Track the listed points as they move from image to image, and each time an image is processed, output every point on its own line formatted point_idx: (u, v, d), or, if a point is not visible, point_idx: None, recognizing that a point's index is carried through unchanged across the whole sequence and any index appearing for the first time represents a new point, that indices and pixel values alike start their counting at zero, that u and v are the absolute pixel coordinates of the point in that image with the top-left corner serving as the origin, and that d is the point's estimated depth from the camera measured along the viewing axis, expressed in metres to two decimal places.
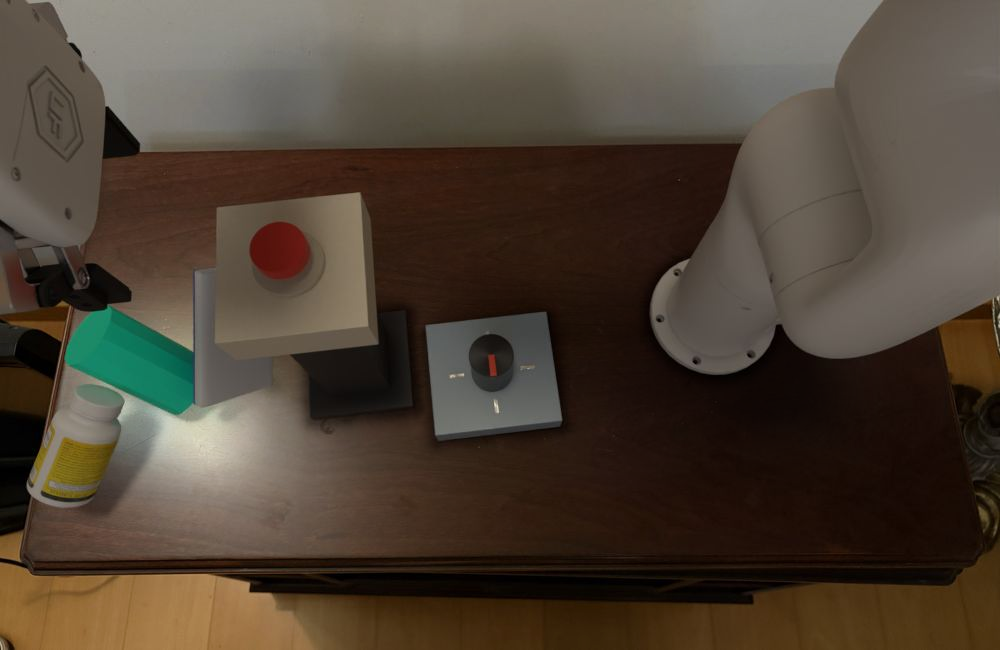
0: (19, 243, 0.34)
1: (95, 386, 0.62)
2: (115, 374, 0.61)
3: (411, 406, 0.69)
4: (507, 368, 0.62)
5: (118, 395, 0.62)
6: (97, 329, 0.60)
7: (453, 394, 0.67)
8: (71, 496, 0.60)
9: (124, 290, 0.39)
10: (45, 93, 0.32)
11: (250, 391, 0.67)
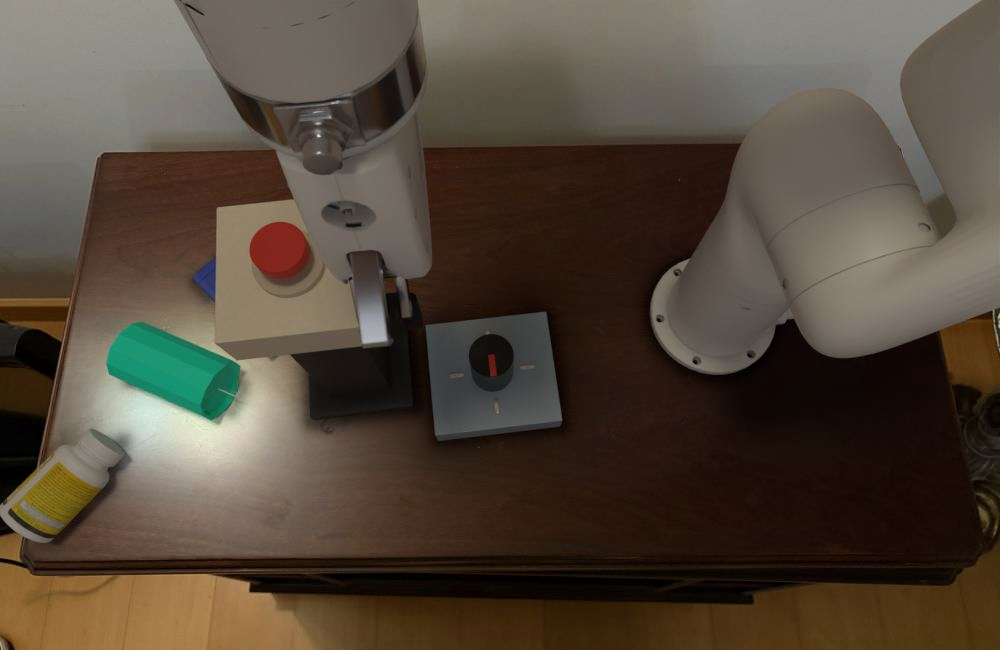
0: None
1: (106, 437, 0.68)
2: (134, 381, 0.66)
3: (411, 406, 0.69)
4: (507, 368, 0.62)
5: (121, 450, 0.67)
6: None
7: (453, 394, 0.67)
8: (32, 523, 0.62)
9: (422, 317, 0.40)
10: None
11: None
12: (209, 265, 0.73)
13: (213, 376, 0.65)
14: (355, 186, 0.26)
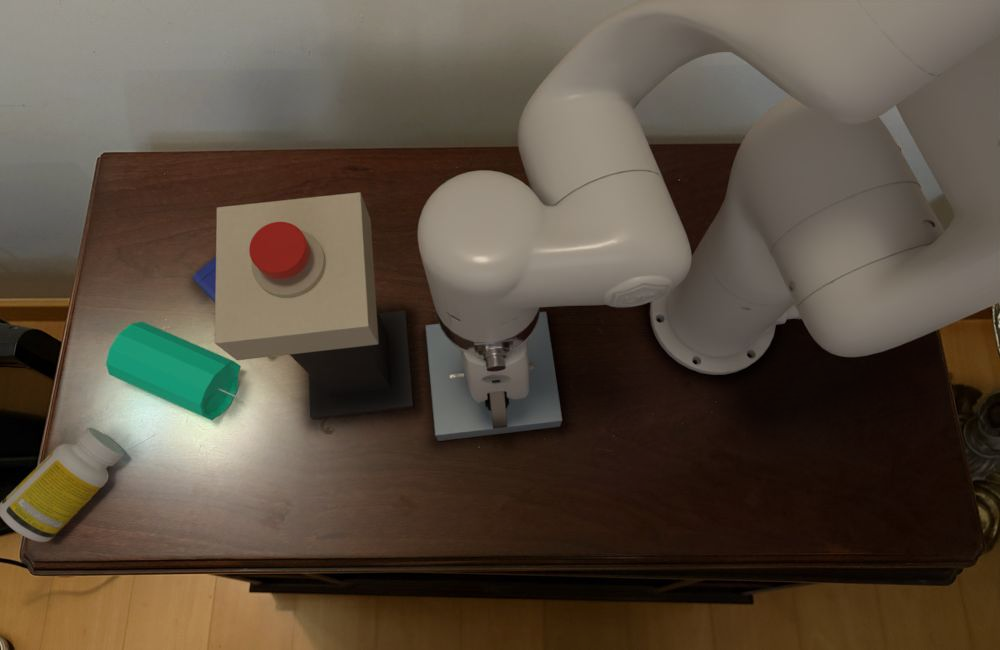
0: None
1: (106, 437, 0.68)
2: (134, 381, 0.66)
3: (411, 406, 0.69)
4: None
5: (120, 450, 0.67)
6: None
7: (453, 394, 0.67)
8: (30, 522, 0.62)
9: None
10: None
11: None
12: (209, 265, 0.73)
13: (213, 376, 0.65)
14: (504, 369, 0.50)
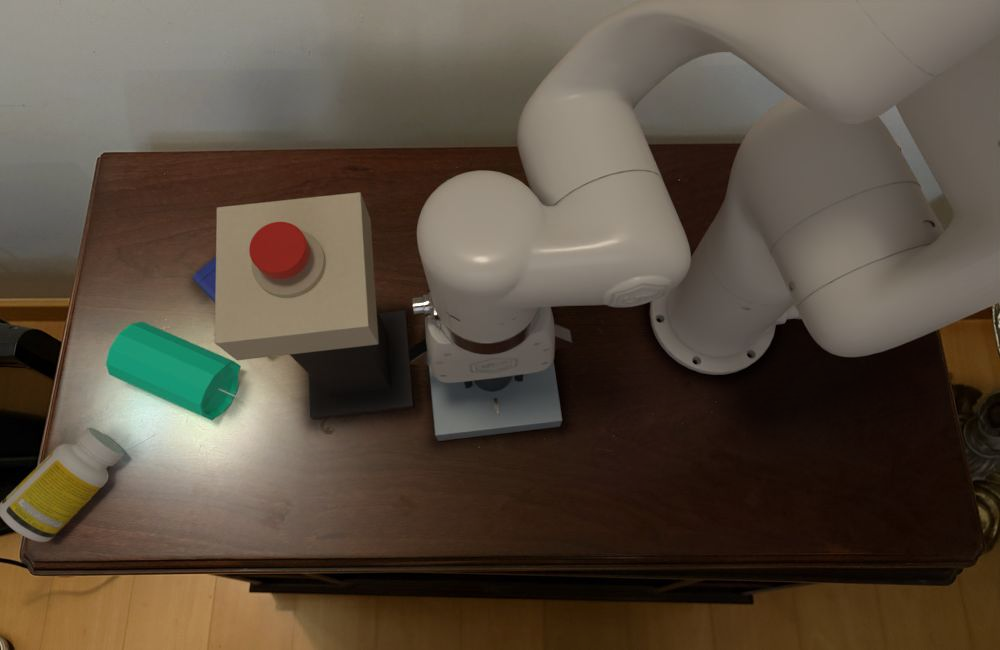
0: None
1: (106, 437, 0.68)
2: (134, 381, 0.66)
3: (411, 406, 0.69)
4: None
5: (120, 450, 0.67)
6: None
7: (453, 394, 0.67)
8: (30, 522, 0.62)
9: (467, 386, 0.66)
10: (501, 360, 0.55)
11: None
12: (209, 265, 0.73)
13: (213, 376, 0.65)
14: (426, 326, 0.51)
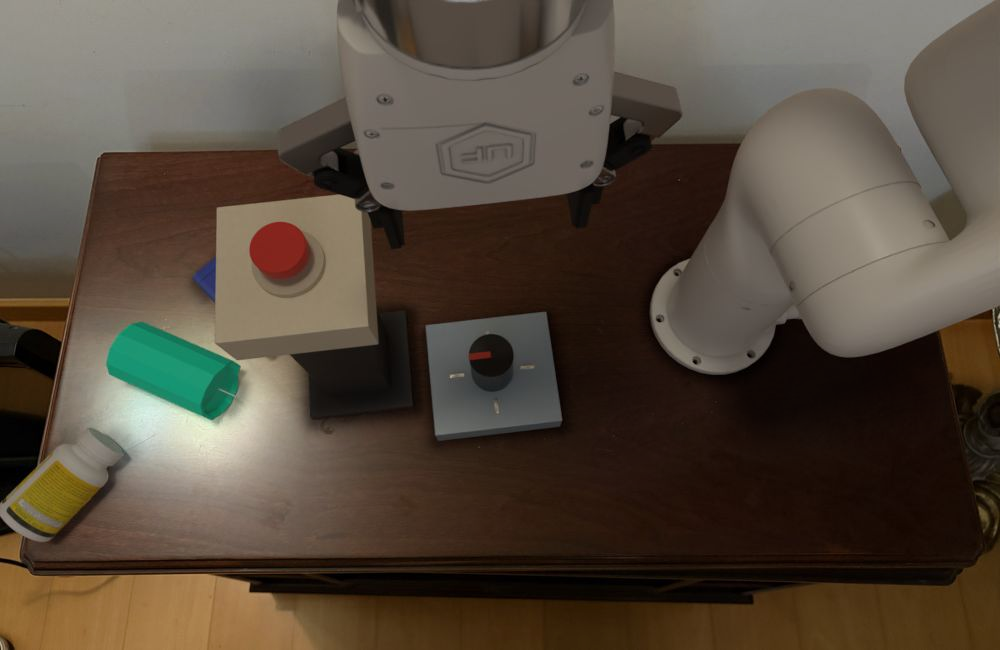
0: None
1: (106, 437, 0.68)
2: (134, 381, 0.66)
3: (411, 406, 0.69)
4: (477, 370, 0.62)
5: (120, 450, 0.67)
6: None
7: (453, 394, 0.67)
8: (30, 522, 0.62)
9: (393, 242, 0.36)
10: (501, 139, 0.27)
11: None
12: (209, 265, 0.73)
13: (213, 376, 0.65)
14: None
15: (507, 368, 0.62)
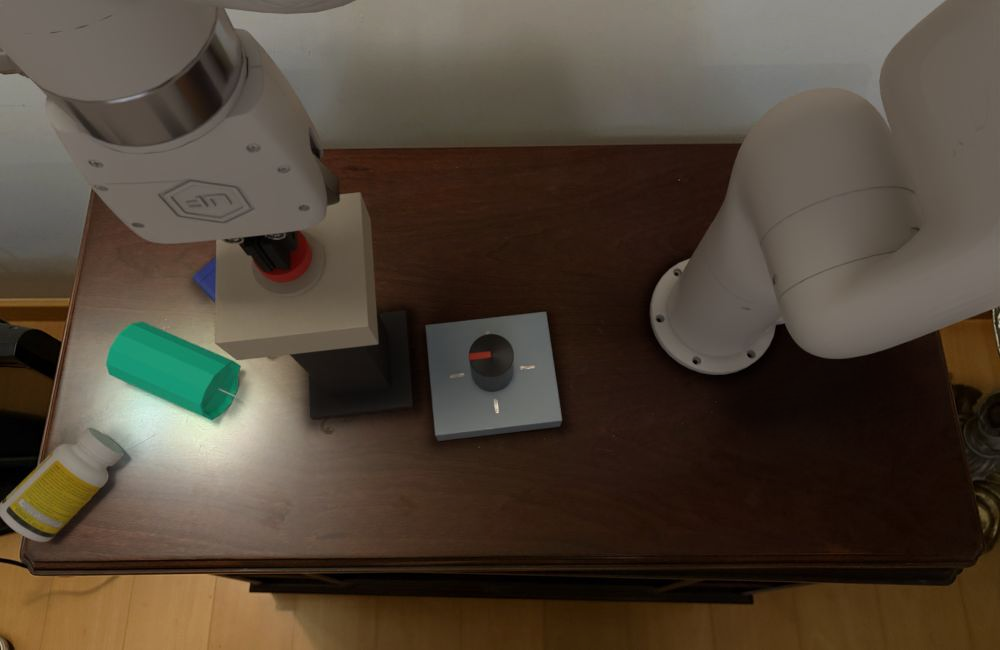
0: None
1: (106, 437, 0.68)
2: (134, 381, 0.66)
3: (411, 406, 0.69)
4: (477, 370, 0.62)
5: (120, 450, 0.67)
6: None
7: (453, 394, 0.67)
8: (30, 522, 0.62)
9: (263, 267, 0.44)
10: (214, 191, 0.33)
11: None
12: (209, 265, 0.73)
13: (213, 376, 0.65)
14: None
15: (507, 368, 0.62)
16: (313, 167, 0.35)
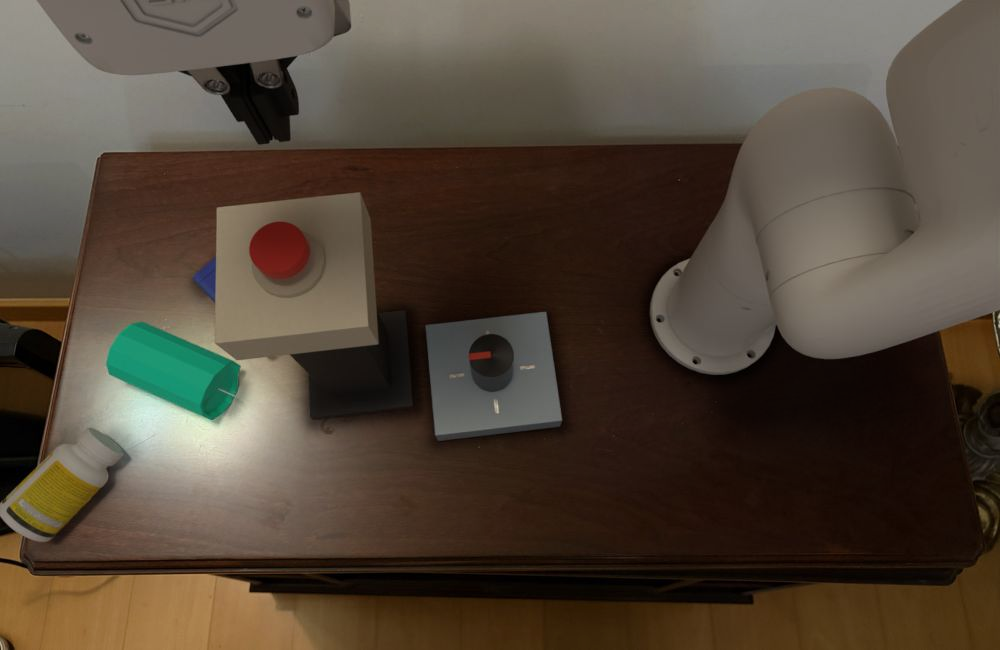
0: None
1: (106, 437, 0.68)
2: (134, 381, 0.66)
3: (411, 406, 0.69)
4: (477, 370, 0.62)
5: (120, 450, 0.67)
6: None
7: (453, 394, 0.67)
8: (30, 522, 0.62)
9: (257, 134, 0.35)
10: None
11: None
12: (209, 265, 0.73)
13: (213, 376, 0.65)
14: None
15: (507, 368, 0.62)
16: None
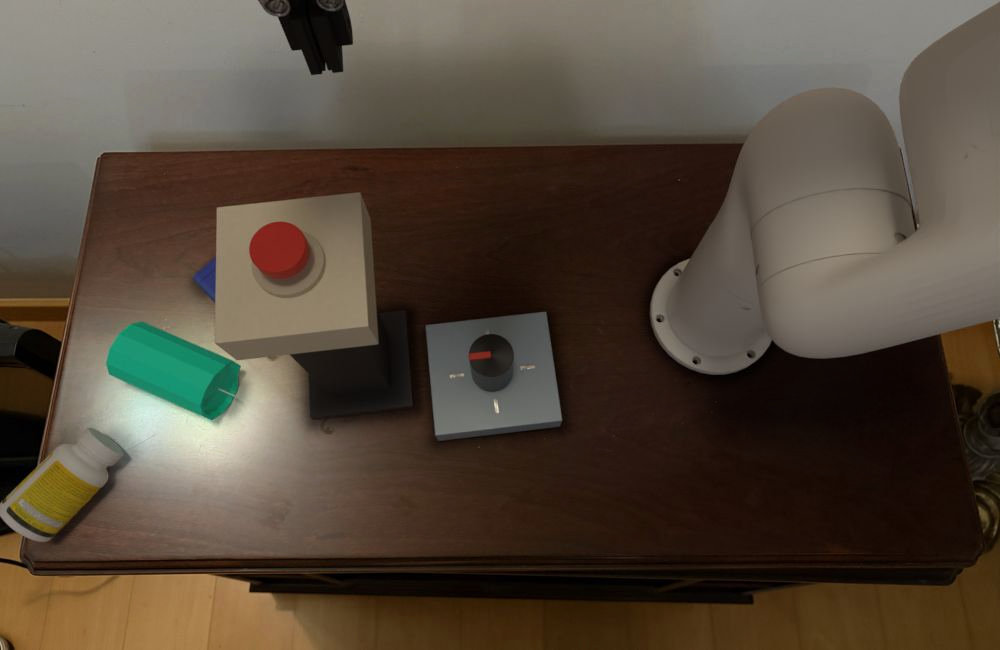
0: None
1: (106, 437, 0.68)
2: (134, 381, 0.66)
3: (411, 406, 0.69)
4: (477, 370, 0.62)
5: (120, 450, 0.67)
6: None
7: (453, 394, 0.67)
8: (30, 522, 0.62)
9: (311, 63, 0.35)
10: None
11: None
12: (209, 265, 0.73)
13: (213, 376, 0.65)
14: None
15: (507, 368, 0.62)
16: None
